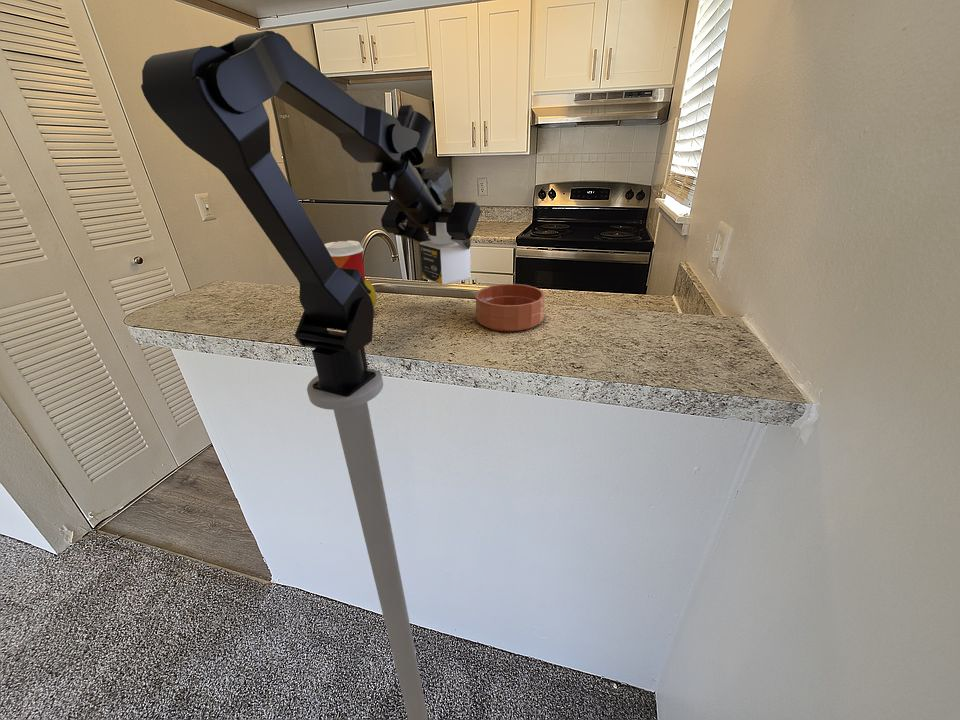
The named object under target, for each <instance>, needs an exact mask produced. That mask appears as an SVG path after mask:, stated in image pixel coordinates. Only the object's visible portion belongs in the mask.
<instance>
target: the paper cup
mask: <svg viewBox="0 0 960 720" xmlns="http://www.w3.org/2000/svg"><path fill="white" fill-rule="evenodd" d="M324 245H325V247H326V248H327V250H328V252H329V254H330V255H331V257H332V259H333V260H334V262H335V264H336V265H337V266H338V267H339V268H346V269H357V270H358V271H359V272H360V274H361V275H362V278H363V280H364V281H365V279H366V274H365V273H366V272H365V265H364V255H363V252H364V248H363V247H362V245H361V243H360V242H359V241H357V240H339V241H332V242H331V241H330V242H326V243H324Z"/></svg>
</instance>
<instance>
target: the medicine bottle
mask: <svg viewBox="0 0 960 720" xmlns="http://www.w3.org/2000/svg"><path fill="white" fill-rule="evenodd" d="M427 234H428V237H429V239H430V241H424V242H421V243H420V242H419V252H420V263H421V264H420V265H421V277H422V278H423V279H424V280H427V281H429V282H432V283H435V284H437V285H440V286H445V285H450V284H455V283H459V282H463V281H467V280H470V279H471V275H472V273H471V247H470V248H469V249H466V248H464V247H462V246H461V245H459V244H458V243H456V242H454V241H453V240H451V237H452V236H450V235H449V234H448V233H447V229H446V223H439V222H435V223H433V225H432V228H427Z"/></svg>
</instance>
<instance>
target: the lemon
mask: <svg viewBox="0 0 960 720" xmlns="http://www.w3.org/2000/svg"><path fill="white" fill-rule="evenodd" d="M364 283H365V285H366V286H367V288H368V289H369V290H371V293H370V294H369V296H370V298H371V300H372V303H373V308H374V309H375V307H376V304H377V291H376V290H375V287H374V286H373V283H372V282H371V281H369V280H368V279H366V278H365V281H364Z"/></svg>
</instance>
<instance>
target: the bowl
mask: <svg viewBox="0 0 960 720" xmlns="http://www.w3.org/2000/svg"><path fill="white" fill-rule="evenodd" d="M545 297H546V296H545V292H544V290H541V289H540V288H538V287H535V286H531V285H529V284H520V283H502V284H495V285H494V284H493V285H490V286H486V287H483V288H481V289H479V290H478V291H477V292H476V293H475V319H476V322H478V323H479V324H480V326H481V325H482V326H483V327H485V328H486V329H490V330H494V331H498V332H499V331H500V332H520V331H525V330H530V329H532V328H534V327H537V326H538V325H540V324H541V323H542V322H543V320H544V319H545V303H546V302H545V301H546V300H545V299H546V298H545Z"/></svg>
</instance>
